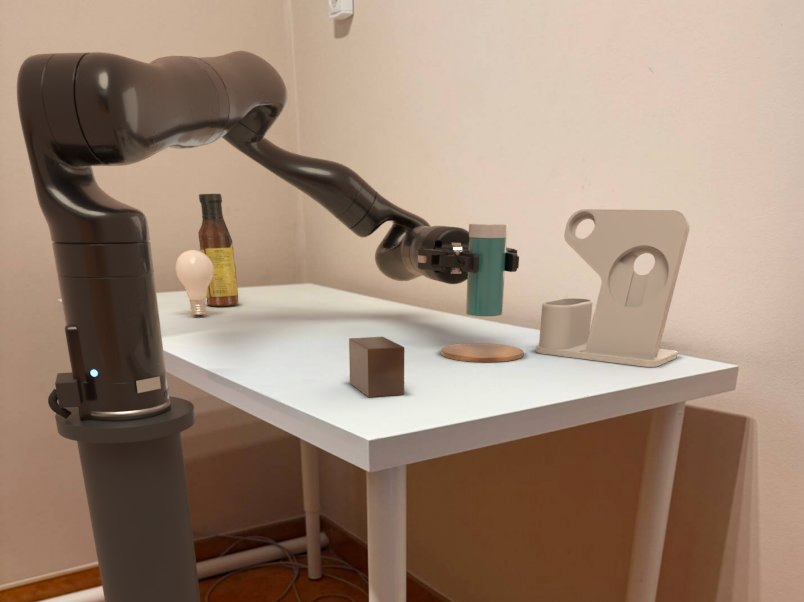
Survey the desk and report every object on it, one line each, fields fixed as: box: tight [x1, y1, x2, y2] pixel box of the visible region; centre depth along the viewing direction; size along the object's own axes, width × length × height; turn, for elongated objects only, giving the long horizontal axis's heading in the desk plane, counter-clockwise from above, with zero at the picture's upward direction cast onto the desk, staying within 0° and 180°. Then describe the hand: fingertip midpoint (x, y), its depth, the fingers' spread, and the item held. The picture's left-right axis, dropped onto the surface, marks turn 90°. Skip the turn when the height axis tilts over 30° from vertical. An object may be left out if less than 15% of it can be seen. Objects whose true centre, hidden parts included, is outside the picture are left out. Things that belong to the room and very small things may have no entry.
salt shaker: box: [465, 222, 509, 317], centre depth 98 cm, size 5×11×11 cm
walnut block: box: [348, 336, 405, 398], centre depth 82 cm, size 4×7×5 cm, turn 20°
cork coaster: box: [440, 342, 524, 363], centre depth 102 cm, size 11×11×1 cm
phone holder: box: [535, 208, 690, 368], centre depth 99 cm, size 17×10×18 cm, turn 53°
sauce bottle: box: [198, 193, 239, 307], centre depth 144 cm, size 6×6×20 cm
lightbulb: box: [174, 249, 214, 318], centre depth 131 cm, size 6×6×11 cm
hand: (495, 263), depth 95 cm, fingers closed on salt shaker, 4 cm apart
